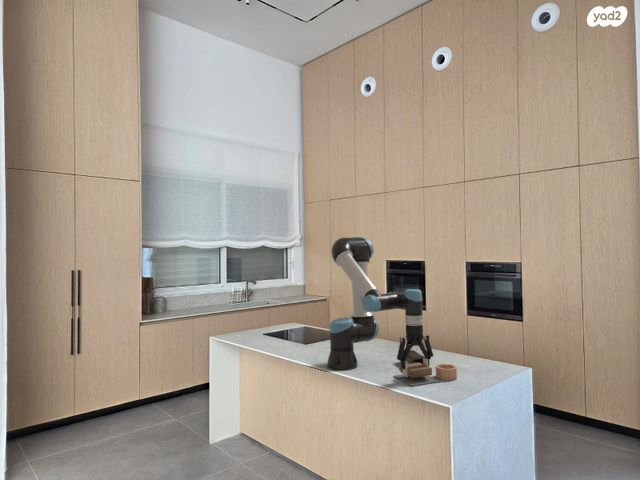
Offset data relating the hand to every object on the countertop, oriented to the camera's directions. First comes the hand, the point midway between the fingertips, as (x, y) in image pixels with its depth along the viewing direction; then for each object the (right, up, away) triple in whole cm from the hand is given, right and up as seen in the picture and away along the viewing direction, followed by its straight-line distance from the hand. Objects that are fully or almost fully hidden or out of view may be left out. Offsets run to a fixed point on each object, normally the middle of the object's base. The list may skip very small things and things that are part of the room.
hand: (415, 374), depth 189 cm
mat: (0, -2, 0) cm, 2 cm away
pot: (+14, -2, +2) cm, 14 cm away
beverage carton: (+4, -3, +21) cm, 21 cm away
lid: (0, +1, 0) cm, 1 cm away
